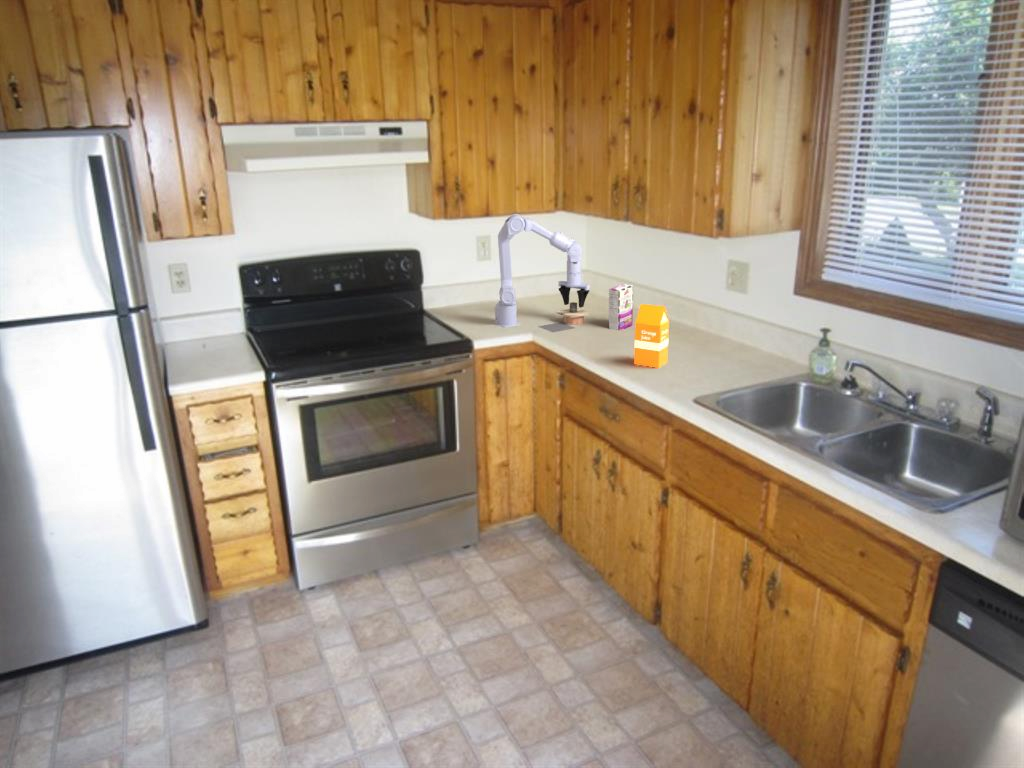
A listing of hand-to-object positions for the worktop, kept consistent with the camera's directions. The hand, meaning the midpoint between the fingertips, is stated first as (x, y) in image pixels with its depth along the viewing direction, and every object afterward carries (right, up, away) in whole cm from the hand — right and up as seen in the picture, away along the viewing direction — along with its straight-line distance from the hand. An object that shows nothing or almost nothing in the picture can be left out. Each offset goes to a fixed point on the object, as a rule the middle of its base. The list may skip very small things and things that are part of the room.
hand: (573, 305), depth 300 cm
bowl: (0, -7, +2) cm, 7 cm away
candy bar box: (+18, -9, -6) cm, 21 cm away
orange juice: (+21, -25, -52) cm, 62 cm away
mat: (-7, -9, -5) cm, 13 cm away
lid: (0, -3, +1) cm, 3 cm away
